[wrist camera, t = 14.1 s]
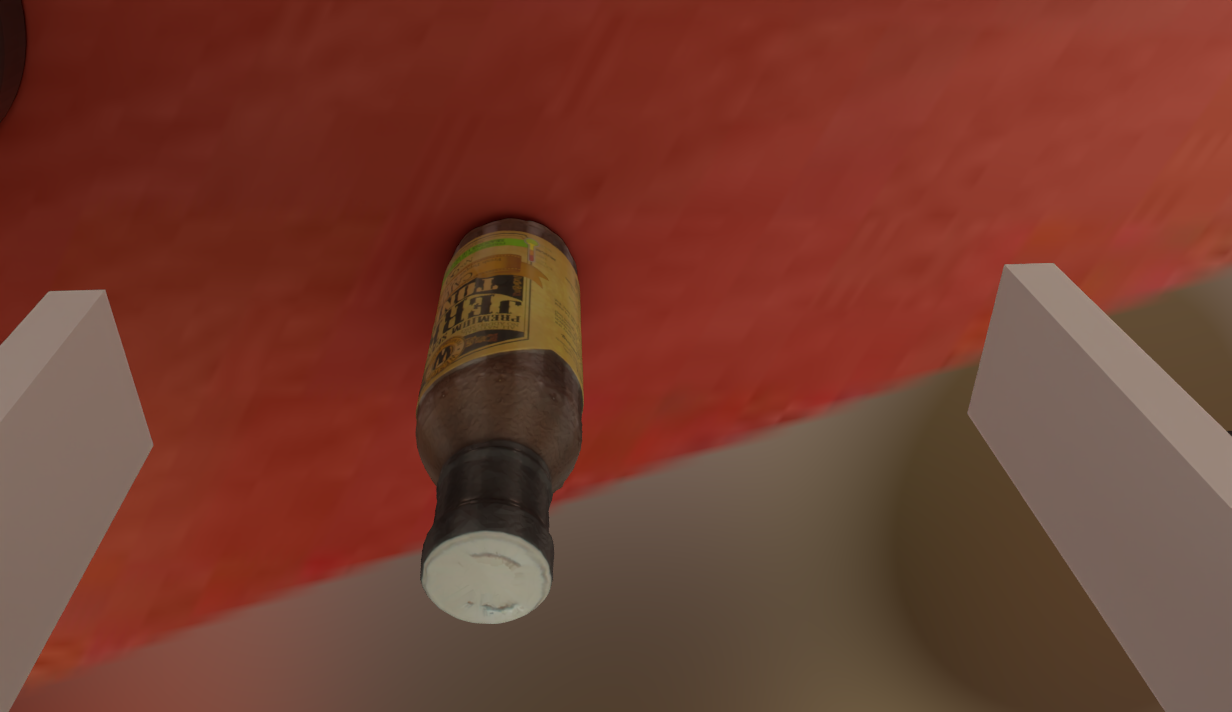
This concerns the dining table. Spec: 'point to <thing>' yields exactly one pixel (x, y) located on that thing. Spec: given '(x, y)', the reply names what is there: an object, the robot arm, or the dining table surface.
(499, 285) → the sauce bottle
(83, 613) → the dining table surface
